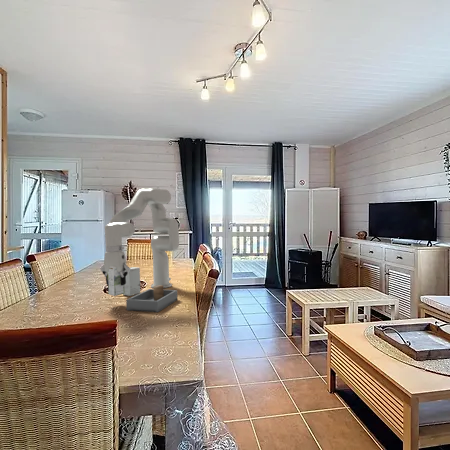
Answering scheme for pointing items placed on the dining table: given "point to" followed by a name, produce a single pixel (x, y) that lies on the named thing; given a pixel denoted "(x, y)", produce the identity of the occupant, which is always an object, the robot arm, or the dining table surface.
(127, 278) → the skincare box
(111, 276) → the syrup box
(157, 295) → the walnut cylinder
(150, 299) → the tray
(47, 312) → the dining table surface
